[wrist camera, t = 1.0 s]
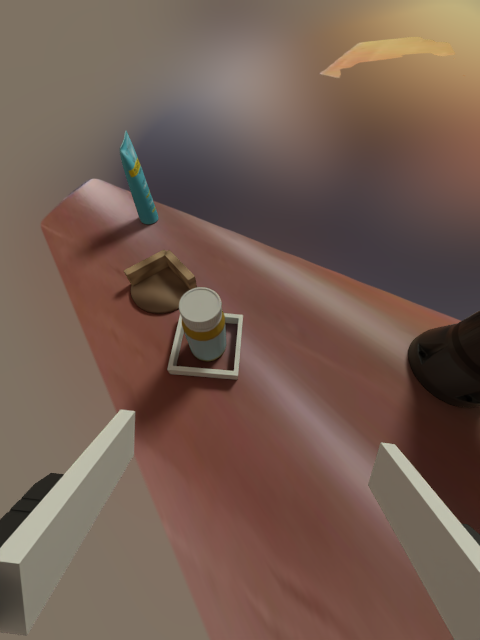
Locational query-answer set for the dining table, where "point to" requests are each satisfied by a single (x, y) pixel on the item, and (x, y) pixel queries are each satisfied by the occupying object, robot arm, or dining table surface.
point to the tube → (137, 183)
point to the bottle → (203, 323)
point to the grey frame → (202, 371)
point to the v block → (159, 282)
